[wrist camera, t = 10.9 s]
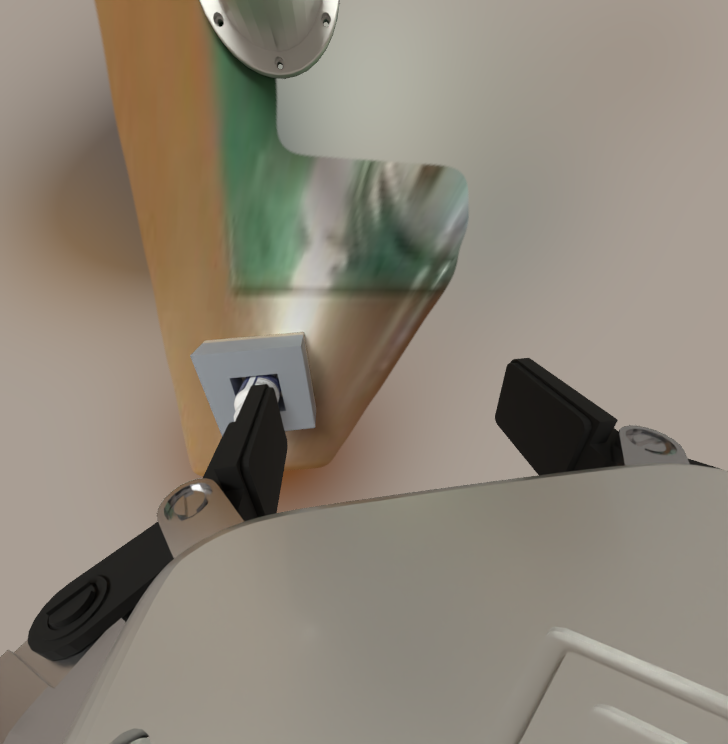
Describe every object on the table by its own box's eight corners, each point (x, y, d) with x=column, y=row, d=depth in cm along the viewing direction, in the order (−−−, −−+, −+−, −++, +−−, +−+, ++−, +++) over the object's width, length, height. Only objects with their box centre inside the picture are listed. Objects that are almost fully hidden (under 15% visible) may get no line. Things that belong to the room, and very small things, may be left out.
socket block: (205, 340, 40) (190, 355, 35) (303, 332, 41) (300, 345, 36) (232, 417, 47) (222, 438, 42) (316, 408, 48) (315, 427, 43)
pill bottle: (256, 397, 44) (239, 440, 36) (240, 369, 41) (218, 408, 33) (288, 388, 44) (279, 429, 36) (275, 360, 41) (261, 396, 33)
